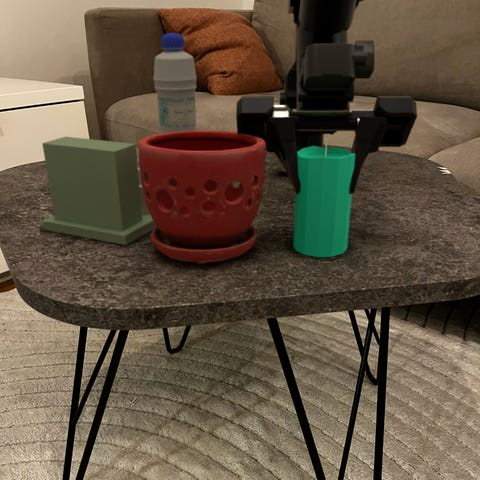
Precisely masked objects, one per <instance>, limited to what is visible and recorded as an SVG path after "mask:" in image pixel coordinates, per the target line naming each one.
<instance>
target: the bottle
mask: <svg viewBox="0 0 480 480" xmlns="http://www.w3.org/2000/svg"><path fill="white" fill-rule="evenodd" d="M160 43H161V49H162V50H163V51H162V52H161V53H159V54H157V55H156V56H155V57H154V63H153V64H154V65H153V82H154V90H155V92H156V95H157V96H156V97H157V112H158V123H159V124H158V126H159V134H163V133H170V132H181V131H197V117H196V116H197V113H196V95H195V94H196V89H197V87H198V86H197V79H198V77H197V73H196V66H195V61H194V56H193V55H191V54H190V53H187V52H186V51H184V50H185V39H184V37H183V35H182V34H180V33H177V32H169V33H168V32H167V33H165V34H164V35H162V37H161V42H160Z"/></svg>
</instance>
